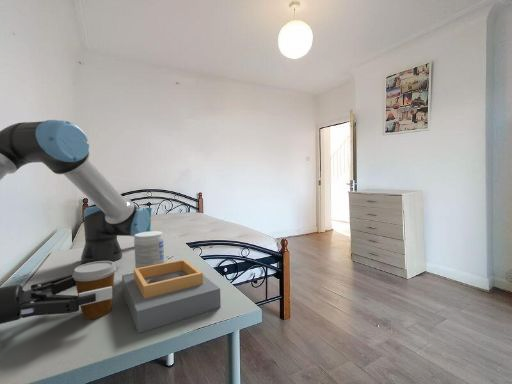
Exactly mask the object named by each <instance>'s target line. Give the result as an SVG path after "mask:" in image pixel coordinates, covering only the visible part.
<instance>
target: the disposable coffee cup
mask: <svg viewBox="0 0 512 384" xmlns="http://www.w3.org/2000/svg"><path fill="white" fill-rule="evenodd" d="M116 270H117V266H115V261H113V262H111V261H97V262H91V263H87V264H81V265H78V266H77V267H74V270H73V272H72V273H71V274H72V277H73V278H74V280H75V283H76V286H75V288H76V291H77V296H79V293H82V292H87V291H92V290H96V289H101V288H106V287H110V286H112V296H113V294H114V293H113V291H114V281H115V273H116ZM112 303H113V298H112V299H108V300H103V301H99V302H95V303H91V304H87V305H82V306H79V308H80V310H81V315H82V318H84V319H87V320H93V319H97V318H101V317H104V316H105V315H108V314H109V313H110V312H111V310H112V305H113V304H112Z"/></svg>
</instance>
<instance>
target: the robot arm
mask: <svg viewBox="0 0 512 384" xmlns="http://www.w3.org/2000/svg"><path fill="white" fill-rule="evenodd" d="M88 141H89V139H88V137H87V135H86V133H85V131H84V130H82V129H81V128H80V127H79V126H78V125H76V124H75V123H73V122H71V121H68V120H61V119H60V120H58V119H48V120H43V121H27V122H26V121H24V122H17V123H14V124H11V125H8V126H7V127H5V128H3V129H1V130H0V181H1V180H3V178H4V177H6V175H9V174H15V173H16V172H17V171H18V170H19V169H21V167H24V166H25V165H28V164H30V163H42V164H44V165H45V166H46V167H47V168H48V169H49V170H51V171H52V173H54V174H55V175H64V176H65V177H66V178H67V180H68V181H70V182H71V183H72V184H73V185H74V186H75V187H76V188H77V189H78V190H79V191H80V192H82V193H83V194H84V196H85V197H87V198H88V199H89V200H90V201H91V202H92V203H93V205H95V206H90V207H89V206H88V207H86V208H85V209H84V211H83V226H84V240H85V241H84V242H85V243H84V247H83V250H82V253H81V257H80V263H81V265H83V264H87V263H91V262H97V261H111V262H116V261H118V260H121V258H123V250H122V249H121V248H122V247H121V246H120V243H119V241H118V237H119V236H121V237H122V236H123V237H134V235H135V234H138V233H142V232H145V231H146V230H147V228H148V225H149V213H148V211H147V209H145V208H146V207H142V206H141V207H138V206H137V205H136V204H135V203H134V202H133V201H132V200H130V199H125V198H124V197H123V196H122V194H121V193H120V192H119V191H118V190H117V189H116V188H115V186H114V185H113V184H112V183H111V182H110V181H109V180H108V178H107V177H106V176H105V175H104V174H103V173H102V172H101V171H100V170H99V168H98V167H97V166H96V165H95V164H94V162H92V160H91V159H90V155H91V154H90V151H89V150H90V144H89V143H88ZM72 274H73V273H71V274H67V275H63V276H59V277H57V278H53V279H50V280H46V281H43V282H39V283H35V284H34V283H33V284H30V289H29V290H24V289H23V286H22V285H21V284H14V285H9V286H3V287H0V325H1V324H7V323H10V322H15V321H18V320H19V321H20V320H21V319H25V318H29V317H30V318H31V317H35V316H49V315H58V314H59V315H60V314H73V313H77V312H79V311H80V306H82V305H87V304H91V303H95V302H99V301H103V300H108V299H112V300H113V295H112V286H110V287H106V288H101V289H96V290H92V291H87V292H82V293H79V296H78V295H74V294H73V295H71V294H60V293H61V292H65V291H67V290H69V289H71V288H74V287H76V283H75V280H74V278H73V277H72Z"/></svg>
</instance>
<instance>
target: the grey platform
mask: <svg viewBox="0 0 512 384" xmlns="http://www.w3.org/2000/svg"><path fill="white" fill-rule="evenodd" d="M121 280H122V281H121V282H122V283H121V284H122V286H121V287H122V293H123V297H124V298H125V302H126V304H127V306H128V307H127V308H128V309H129V313H130V315H131V319H132V321H133V323H134V326H135V329H136V332H137V334H140V333H141V334H142V333H143V332H147V331H150V330H154V329H157V328H159V327H162V326H166V325H169V324H172V323H176V322H178V321H181V320H184V319H189V318H190V317H194V316H199V315H200V314H204V313H207V312H209V311H213V310H216V309H218V308H221V307H222V306H221V301H222V300H221V288H220V287H219V286H218V285H216V283H214V282H212V280H211V279H209V278H208V277H206V276H205V275H204V274H203V272H202V271H201V270H199V269H198V268H197V267H196V266H194V265H193V264H192V263H190V262H189V261H188V260H186V259H185V258H184V259H179V260H174V261H168V262H164V263H162V264H157V265H152V266H146V267H141V268H136V267H135V268H133V272H132V273H127V274H121Z"/></svg>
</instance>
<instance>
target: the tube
mask: <svg viewBox="0 0 512 384" xmlns="http://www.w3.org/2000/svg"><path fill="white" fill-rule="evenodd" d="M144 208H145V209H147V211H148V213H149V225H148V228H147V230H146V231H145V232H150V231H151V225H152V223H151V222H152V211H153V208H152V207H144Z"/></svg>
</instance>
